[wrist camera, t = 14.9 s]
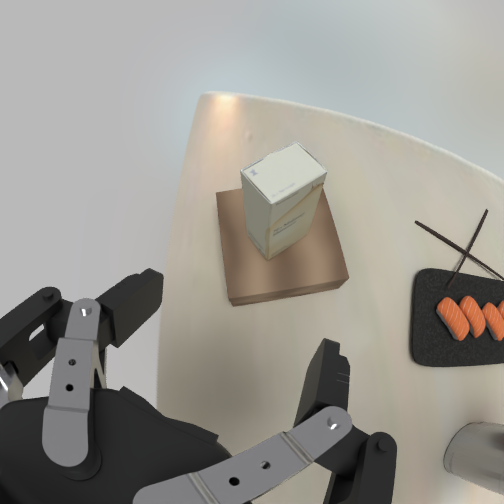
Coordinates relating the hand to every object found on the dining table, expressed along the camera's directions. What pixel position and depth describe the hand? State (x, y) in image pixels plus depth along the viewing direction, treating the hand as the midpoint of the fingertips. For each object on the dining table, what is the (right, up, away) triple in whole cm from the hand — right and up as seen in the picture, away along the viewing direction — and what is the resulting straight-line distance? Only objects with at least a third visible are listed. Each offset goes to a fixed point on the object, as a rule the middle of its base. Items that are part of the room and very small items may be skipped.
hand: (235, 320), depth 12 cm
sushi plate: (+39, -1, +23) cm, 45 cm away
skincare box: (+4, +5, +21) cm, 22 cm away
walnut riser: (+4, +4, +25) cm, 26 cm away
